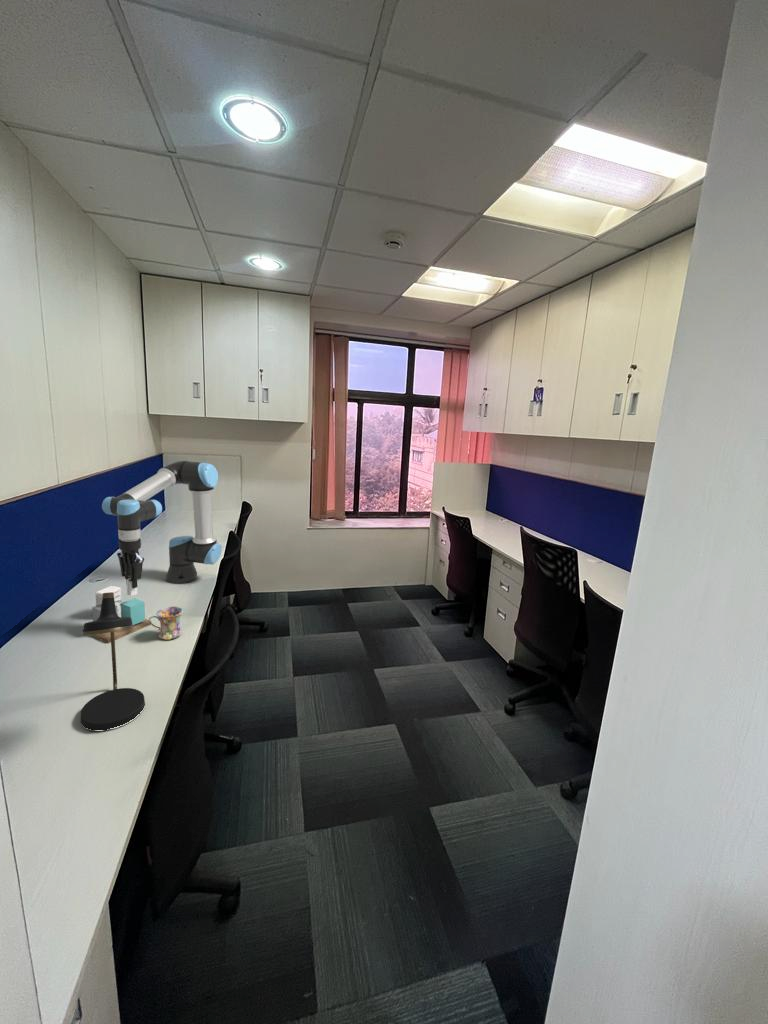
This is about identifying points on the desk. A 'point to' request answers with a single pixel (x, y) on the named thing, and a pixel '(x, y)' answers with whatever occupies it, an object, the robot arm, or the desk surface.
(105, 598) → the lamp
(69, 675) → the desk surface
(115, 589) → the ink box
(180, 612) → the mug
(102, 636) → the stand
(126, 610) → the teal foam cube
